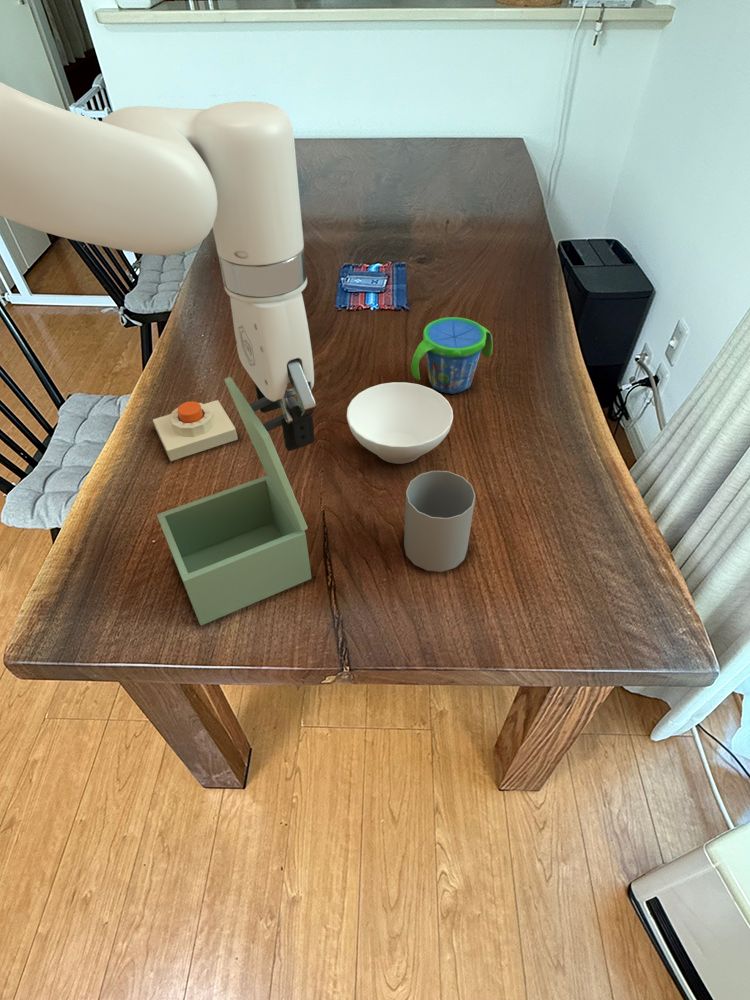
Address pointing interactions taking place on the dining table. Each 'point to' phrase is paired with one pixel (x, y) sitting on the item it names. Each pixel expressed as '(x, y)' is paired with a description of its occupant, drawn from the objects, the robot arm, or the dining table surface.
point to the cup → (438, 520)
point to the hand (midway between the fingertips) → (286, 425)
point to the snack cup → (452, 352)
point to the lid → (267, 445)
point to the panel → (195, 431)
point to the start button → (190, 412)
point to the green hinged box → (236, 548)
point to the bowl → (399, 420)
